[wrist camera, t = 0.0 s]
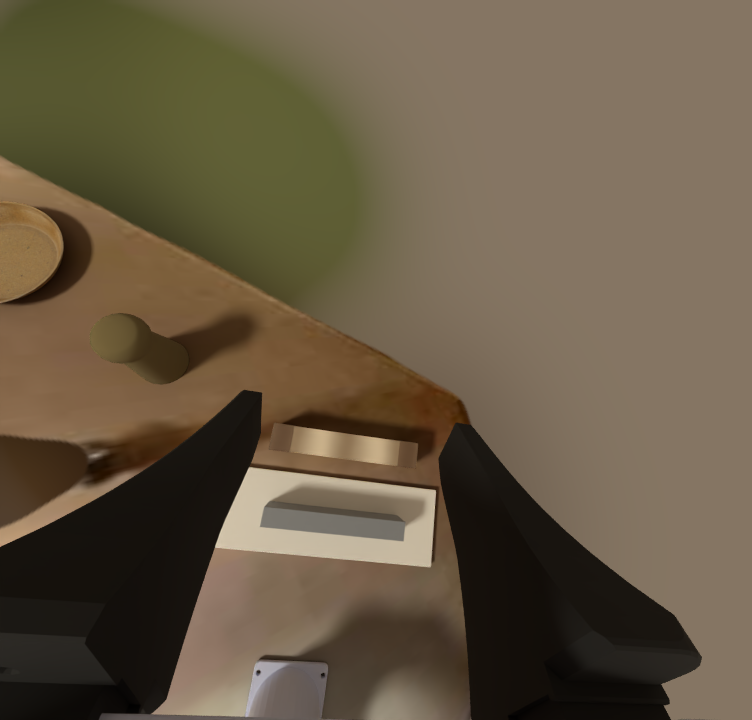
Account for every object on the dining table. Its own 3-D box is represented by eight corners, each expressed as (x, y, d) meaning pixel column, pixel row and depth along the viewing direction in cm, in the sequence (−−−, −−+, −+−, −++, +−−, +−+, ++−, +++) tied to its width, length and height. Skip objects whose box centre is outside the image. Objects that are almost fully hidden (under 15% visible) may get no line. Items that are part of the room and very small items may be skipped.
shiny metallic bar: (409, 443, 44) (418, 443, 40) (407, 467, 43) (416, 468, 40) (278, 425, 42) (274, 422, 38) (273, 449, 41) (268, 449, 37)
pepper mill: (150, 334, 42) (95, 296, 32) (196, 347, 43) (157, 314, 32) (129, 376, 40) (63, 351, 30) (177, 390, 41) (129, 369, 31)
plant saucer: (-4, 197, 44) (-24, 182, 41) (100, 241, 45) (87, 229, 42) (-90, 285, 39) (-118, 274, 37) (28, 331, 40) (9, 323, 38)
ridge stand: (428, 564, 41) (443, 580, 36) (216, 545, 37) (201, 559, 32) (433, 489, 43) (448, 494, 38) (236, 465, 40) (225, 467, 35)
